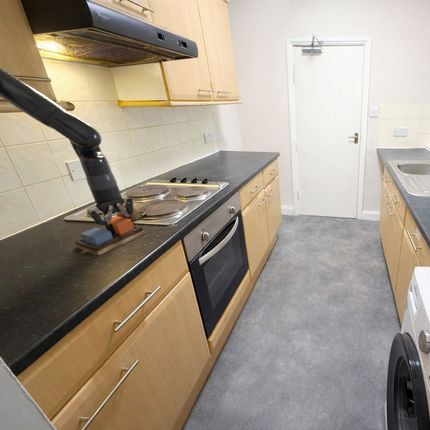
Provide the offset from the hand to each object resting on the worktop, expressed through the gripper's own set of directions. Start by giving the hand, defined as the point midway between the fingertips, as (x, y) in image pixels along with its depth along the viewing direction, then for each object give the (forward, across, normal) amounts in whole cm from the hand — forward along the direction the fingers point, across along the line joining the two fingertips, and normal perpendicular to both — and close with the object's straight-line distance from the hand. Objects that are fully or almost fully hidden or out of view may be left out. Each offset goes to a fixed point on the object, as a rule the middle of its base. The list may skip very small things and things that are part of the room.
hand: (120, 229), depth 98 cm
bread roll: (+3, -12, -13) cm, 18 cm away
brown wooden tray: (+3, +4, 0) cm, 5 cm away
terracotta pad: (0, 0, 0) cm, 0 cm away
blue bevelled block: (+1, +8, 0) cm, 8 cm away
